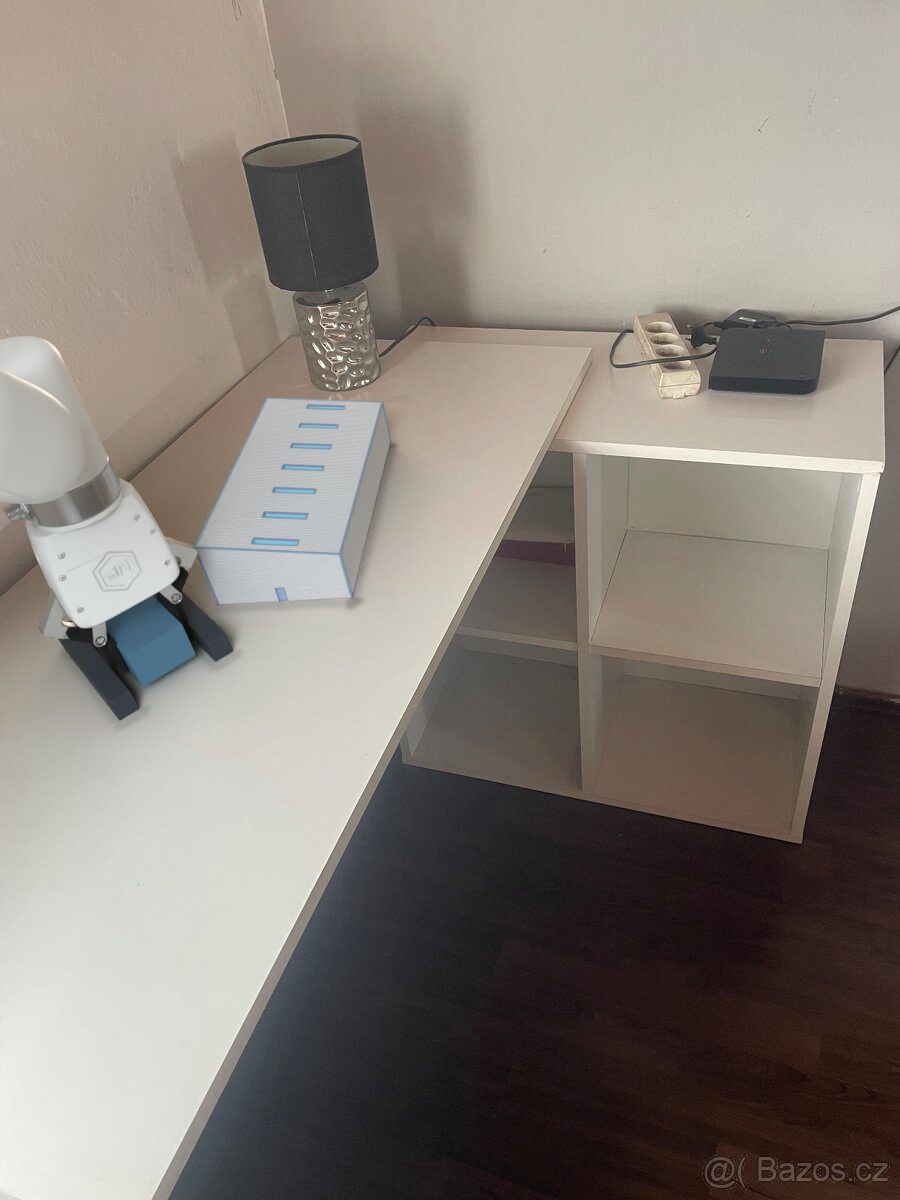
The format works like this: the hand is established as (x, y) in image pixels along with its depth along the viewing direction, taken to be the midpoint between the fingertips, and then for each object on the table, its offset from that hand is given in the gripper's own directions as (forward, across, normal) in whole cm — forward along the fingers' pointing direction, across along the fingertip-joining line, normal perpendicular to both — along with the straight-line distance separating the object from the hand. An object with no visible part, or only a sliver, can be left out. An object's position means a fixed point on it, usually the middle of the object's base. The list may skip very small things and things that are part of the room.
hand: (150, 646), depth 83 cm
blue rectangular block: (+1, 0, 0) cm, 1 cm away
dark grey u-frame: (+2, 0, +2) cm, 3 cm away
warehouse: (+2, +24, +8) cm, 26 cm away
